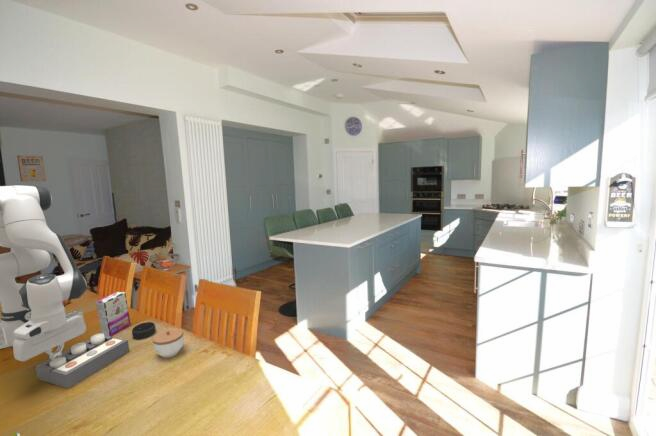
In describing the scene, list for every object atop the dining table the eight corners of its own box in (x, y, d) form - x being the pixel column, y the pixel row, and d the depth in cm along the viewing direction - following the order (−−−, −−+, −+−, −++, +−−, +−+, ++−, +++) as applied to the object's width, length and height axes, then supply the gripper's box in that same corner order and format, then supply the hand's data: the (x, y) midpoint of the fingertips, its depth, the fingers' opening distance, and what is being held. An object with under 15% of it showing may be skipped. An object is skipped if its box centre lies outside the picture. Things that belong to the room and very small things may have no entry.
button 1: (48, 373, 109) (46, 363, 109) (62, 366, 114) (60, 356, 113) (56, 376, 108) (54, 365, 107) (70, 368, 112) (68, 358, 111)
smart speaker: (127, 339, 134) (126, 330, 134) (144, 328, 143) (143, 320, 142) (144, 341, 132) (143, 332, 131) (160, 330, 141) (159, 322, 140)
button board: (38, 379, 109) (35, 365, 108) (101, 345, 129) (99, 333, 129) (68, 388, 104) (65, 373, 103) (129, 351, 124) (127, 338, 123)
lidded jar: (189, 352, 122) (187, 329, 121) (160, 365, 115) (157, 341, 113) (178, 342, 130) (176, 321, 128) (150, 354, 122) (147, 331, 121)
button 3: (89, 347, 122) (87, 338, 122) (100, 341, 126) (99, 332, 126) (96, 349, 121) (95, 339, 120) (108, 343, 125) (106, 334, 124)
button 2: (69, 357, 116) (67, 347, 115) (82, 351, 120) (80, 341, 119) (77, 359, 114) (75, 349, 114) (90, 353, 118) (88, 343, 118)
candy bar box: (122, 324, 148) (117, 291, 145) (130, 324, 147) (126, 291, 144) (100, 336, 137) (95, 301, 134) (110, 337, 136) (104, 302, 133)
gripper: (76, 307, 119) (81, 340, 121) (6, 334, 100) (14, 373, 102) (87, 309, 116) (92, 343, 119) (18, 337, 97) (26, 377, 100)
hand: (56, 357), depth 110 cm, fingers closed
